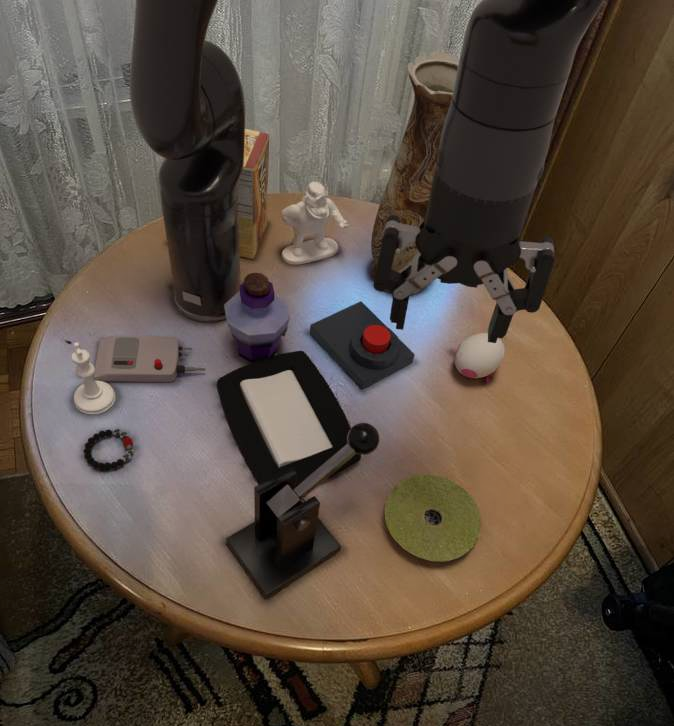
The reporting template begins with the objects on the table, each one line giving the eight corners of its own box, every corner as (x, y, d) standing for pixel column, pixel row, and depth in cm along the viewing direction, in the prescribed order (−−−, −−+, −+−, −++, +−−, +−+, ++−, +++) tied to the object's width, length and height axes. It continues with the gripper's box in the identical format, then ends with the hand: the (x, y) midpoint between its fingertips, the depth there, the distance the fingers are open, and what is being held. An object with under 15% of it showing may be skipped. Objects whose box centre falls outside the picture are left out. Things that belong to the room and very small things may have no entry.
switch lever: (368, 423, 67) (362, 411, 64) (388, 444, 66) (382, 434, 63) (272, 504, 67) (261, 497, 64) (290, 528, 65) (279, 521, 63)
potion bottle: (300, 356, 89) (306, 290, 79) (246, 381, 85) (244, 315, 76) (267, 316, 92) (268, 248, 82) (213, 339, 89) (207, 270, 79)
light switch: (206, 371, 83) (306, 337, 86) (209, 385, 86) (306, 351, 89) (262, 497, 74) (372, 454, 77) (264, 508, 76) (370, 466, 80)
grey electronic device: (87, 343, 86) (82, 327, 84) (207, 344, 88) (205, 329, 86) (79, 381, 83) (74, 366, 80) (205, 382, 85) (203, 367, 82)
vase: (352, 276, 99) (384, 72, 74) (390, 242, 104) (431, 41, 79) (410, 308, 96) (464, 108, 71) (445, 271, 101) (506, 73, 77)
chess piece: (80, 419, 80) (59, 365, 71) (69, 390, 82) (48, 335, 74) (120, 407, 81) (104, 353, 73) (108, 378, 83) (92, 323, 75)
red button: (356, 340, 87) (358, 331, 86) (377, 330, 89) (379, 321, 87) (373, 357, 86) (375, 348, 84) (393, 347, 87) (396, 338, 86)
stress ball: (473, 364, 96) (464, 322, 92) (519, 370, 90) (511, 326, 86) (440, 388, 92) (429, 345, 89) (485, 396, 86) (476, 351, 83)
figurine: (293, 275, 98) (297, 206, 88) (275, 247, 101) (277, 178, 91) (347, 261, 101) (356, 192, 91) (328, 234, 104) (335, 166, 94)
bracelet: (140, 462, 77) (139, 457, 76) (91, 478, 75) (89, 474, 74) (126, 426, 80) (124, 421, 79) (79, 441, 78) (77, 436, 77)
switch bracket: (299, 499, 77) (305, 443, 67) (340, 550, 73) (352, 499, 64) (226, 543, 73) (220, 490, 63) (266, 599, 69) (267, 553, 60)
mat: (362, 512, 76) (364, 504, 75) (432, 467, 81) (435, 458, 79) (426, 586, 72) (429, 580, 70) (496, 534, 77) (501, 526, 75)
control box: (309, 333, 91) (311, 315, 88) (359, 309, 95) (362, 291, 92) (361, 389, 87) (365, 372, 84) (412, 362, 90) (417, 345, 87)
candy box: (242, 219, 104) (240, 126, 91) (268, 224, 103) (270, 132, 91) (228, 255, 99) (224, 162, 86) (255, 260, 99) (255, 168, 86)
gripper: (582, 152, 49) (521, 313, 62) (395, 127, 50) (374, 292, 63) (590, 210, 45) (522, 370, 58) (385, 182, 45) (364, 347, 59)
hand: (445, 329), depth 60 cm, fingers open, 8 cm apart
